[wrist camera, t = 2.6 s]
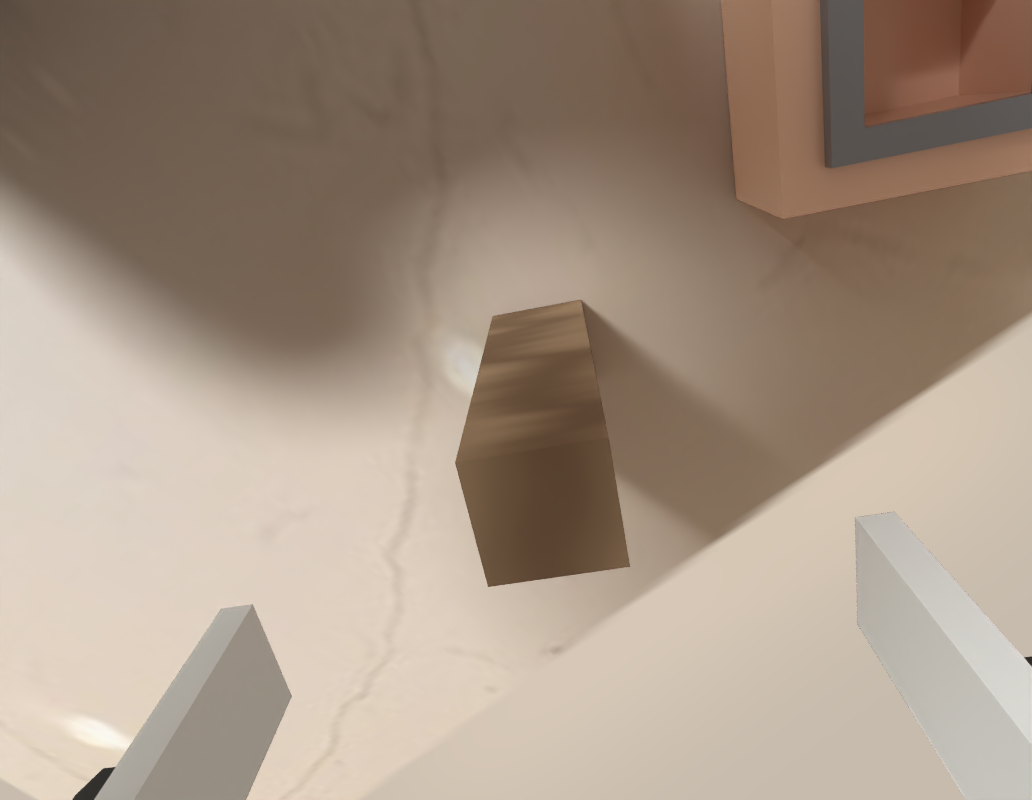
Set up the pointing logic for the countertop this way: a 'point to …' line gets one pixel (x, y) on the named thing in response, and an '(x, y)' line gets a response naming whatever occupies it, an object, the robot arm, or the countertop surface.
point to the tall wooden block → (540, 452)
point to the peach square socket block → (874, 98)
